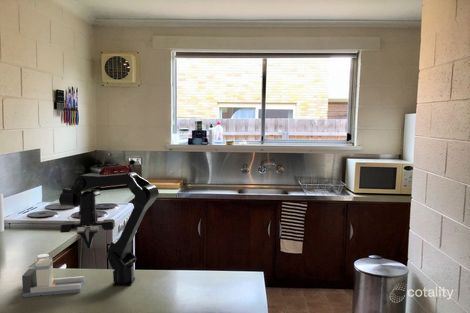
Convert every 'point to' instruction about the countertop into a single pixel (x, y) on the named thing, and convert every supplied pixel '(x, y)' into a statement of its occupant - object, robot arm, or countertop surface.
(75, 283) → the track
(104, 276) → the countertop surface
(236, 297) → the countertop surface
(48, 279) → the cream banded box
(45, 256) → the supplement bottle
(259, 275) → the countertop surface
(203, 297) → the countertop surface
